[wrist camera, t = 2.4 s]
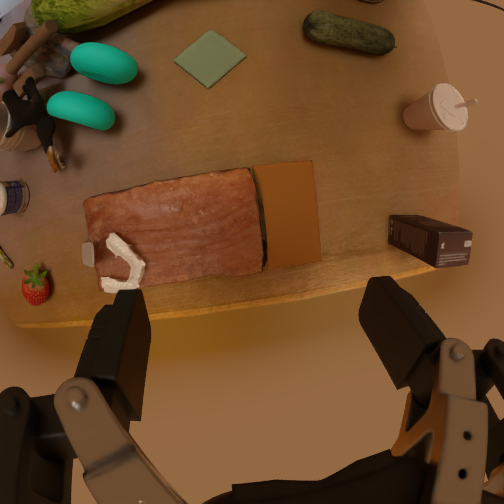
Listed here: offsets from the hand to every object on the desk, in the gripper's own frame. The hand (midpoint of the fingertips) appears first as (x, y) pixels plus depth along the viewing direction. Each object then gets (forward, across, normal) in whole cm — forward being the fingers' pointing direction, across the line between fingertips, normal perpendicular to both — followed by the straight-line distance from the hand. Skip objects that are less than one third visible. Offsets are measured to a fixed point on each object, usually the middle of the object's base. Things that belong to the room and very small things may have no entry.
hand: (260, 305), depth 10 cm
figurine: (+23, +26, -13) cm, 37 cm away
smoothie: (+28, -27, -8) cm, 40 cm away
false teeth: (+21, +13, +12) cm, 27 cm away
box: (+24, -26, +8) cm, 36 cm away
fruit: (+26, +33, +21) cm, 47 cm away
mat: (+33, +2, -13) cm, 36 cm away
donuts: (+34, +16, -9) cm, 38 cm away
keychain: (+23, +18, +12) cm, 32 cm away
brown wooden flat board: (+27, +3, +9) cm, 28 cm away
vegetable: (+32, -17, -18) cm, 41 cm away
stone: (+37, +30, -17) cm, 51 cm away
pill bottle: (+32, +34, +4) cm, 47 cm away
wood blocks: (+30, +29, -11) cm, 43 cm away
